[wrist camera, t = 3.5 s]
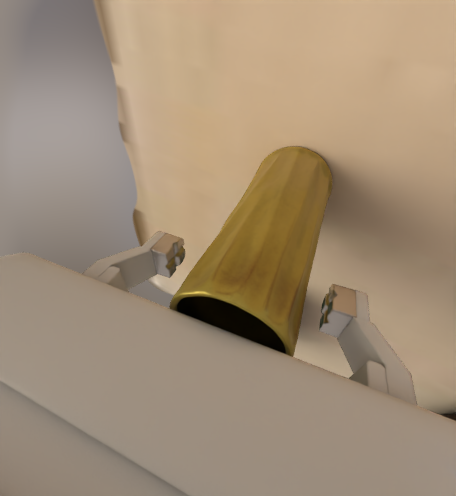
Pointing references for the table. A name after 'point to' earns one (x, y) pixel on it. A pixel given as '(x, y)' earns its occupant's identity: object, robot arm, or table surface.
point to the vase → (263, 254)
